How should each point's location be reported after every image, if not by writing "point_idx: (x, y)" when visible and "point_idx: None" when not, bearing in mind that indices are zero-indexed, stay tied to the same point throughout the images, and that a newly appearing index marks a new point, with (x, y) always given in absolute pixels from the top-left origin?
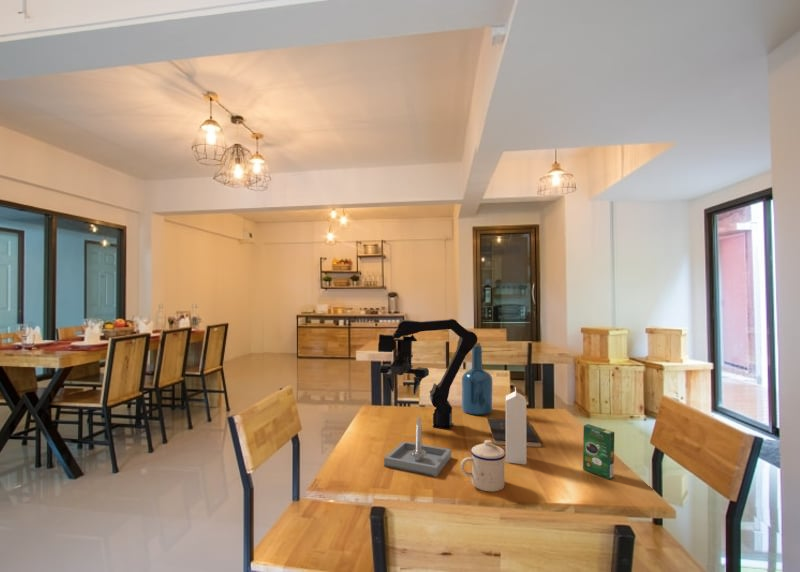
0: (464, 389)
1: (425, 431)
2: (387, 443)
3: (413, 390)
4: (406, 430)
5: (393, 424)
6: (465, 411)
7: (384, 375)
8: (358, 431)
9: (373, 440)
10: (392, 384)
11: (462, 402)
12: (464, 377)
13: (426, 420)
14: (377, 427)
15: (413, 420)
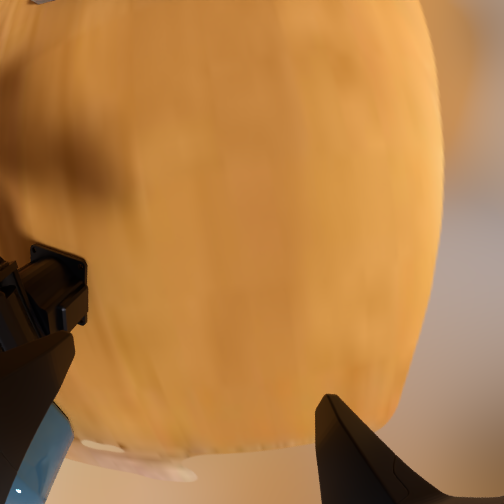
0: (26, 454)
1: (104, 201)
2: (262, 18)
3: (48, 351)
4: (194, 195)
5: (278, 272)
6: (51, 404)
7: (502, 496)
8: (423, 153)
9: (335, 44)
10: (344, 457)
11: (57, 434)
12: (16, 486)
13: (135, 343)
14: (353, 216)
15: (189, 338)
